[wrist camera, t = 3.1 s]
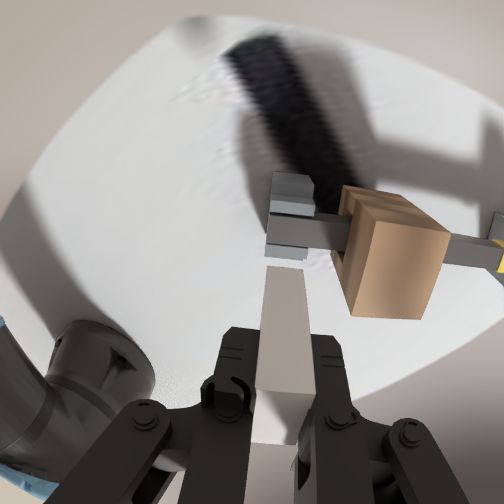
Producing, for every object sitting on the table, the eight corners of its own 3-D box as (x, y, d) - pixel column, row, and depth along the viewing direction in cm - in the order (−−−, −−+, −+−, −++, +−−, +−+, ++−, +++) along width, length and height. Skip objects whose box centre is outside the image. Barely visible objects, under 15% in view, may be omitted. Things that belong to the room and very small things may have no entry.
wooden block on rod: (330, 254, 25) (351, 316, 17) (342, 185, 23) (376, 220, 15) (384, 260, 25) (420, 319, 17) (399, 194, 23) (451, 233, 15)
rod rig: (266, 237, 28) (261, 290, 19) (273, 171, 25) (271, 197, 17) (496, 265, 27) (539, 307, 18) (511, 217, 24) (562, 250, 16)
